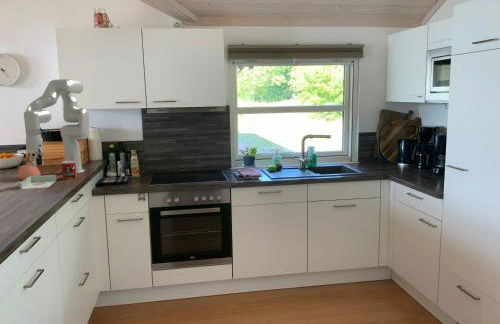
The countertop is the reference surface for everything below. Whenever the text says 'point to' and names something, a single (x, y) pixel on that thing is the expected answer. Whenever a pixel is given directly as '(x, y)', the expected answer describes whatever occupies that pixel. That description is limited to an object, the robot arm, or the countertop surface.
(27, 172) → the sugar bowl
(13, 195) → the countertop surface
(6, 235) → the countertop surface
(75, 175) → the canned food
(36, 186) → the arena
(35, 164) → the cube
